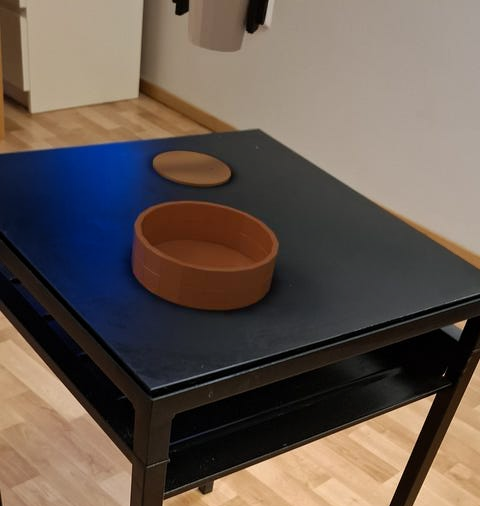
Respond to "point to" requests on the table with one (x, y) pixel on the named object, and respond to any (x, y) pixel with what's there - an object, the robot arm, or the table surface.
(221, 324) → the table surface
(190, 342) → the table surface
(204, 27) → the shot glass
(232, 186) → the table surface
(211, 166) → the coaster
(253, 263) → the pan
